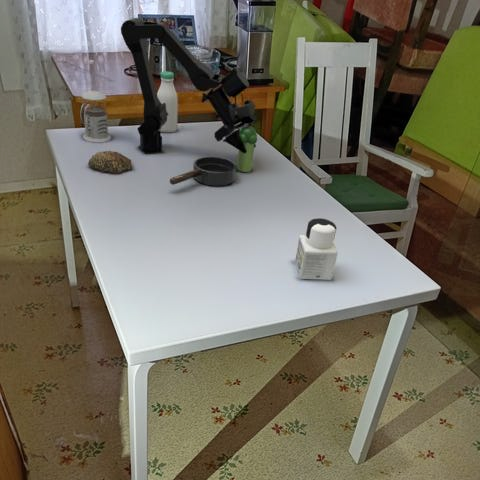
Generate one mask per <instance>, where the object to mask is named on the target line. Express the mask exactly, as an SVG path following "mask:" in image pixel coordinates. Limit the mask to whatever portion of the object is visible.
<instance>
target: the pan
mask: <svg viewBox="0 0 480 480" xmlns="http://www.w3.org/2000/svg"><path fill="white" fill-rule="evenodd" d="M196 169H201V170H202V175H200V176H197V177H194V178H193V179H194V180H196V181H197V182H198V183H201V184H203V185H206V186H213V187H221V186H222V187H224V186H228V185H229V184H233V183H234V182H235V181H236V175H237V163H235V162H234V161H233V160H231V159H228V158H226V157H220V156H202V157H199V158H196V159H195V160H194V162H193V170H196ZM193 170H192V171H193Z"/></svg>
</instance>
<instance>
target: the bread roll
mask: <svg viewBox="0 0 480 480" xmlns="http://www.w3.org/2000/svg"><path fill="white" fill-rule="evenodd" d="M87 165H88V167H89V168H91V169H92V170H94V171H97V172H101V173H107V174H114V175H116V174H120V173H123V172H124V171H126V170H127V171H131V170H133V165H132V159H131V158H128V157H127V156H125V155H124V154H122V153H120V152H118V151H113V150H105V151H104V150H103V151H98V152H96V153H95V154H93V155H92V156H91V157H90V159H89V160H88V163H87Z"/></svg>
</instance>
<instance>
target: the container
mask: <svg viewBox="0 0 480 480" xmlns="http://www.w3.org/2000/svg"><path fill="white" fill-rule="evenodd" d="M336 233H337V226H336V224H335V223H334V222H333V221H332V220H329V219H327V218H323V217H322V218H319V217H318V218H313V219H310V220H309V221H308V222H307V226H306V233H305V234H300V235H299V238H298V243H297V248H296V254H295V258H294V259H295V260H294V263H295V266H296V269H297V273H298V276H299V279H300V280H323V281H325V280H327V281H331V280H332V279H333V275H334V272H335V271H334V270H335V267H336V262H337V259H338V258H337V257H338V255H339V254H338V253H339V252H338V249H337V248H336V245H335V243H334V242H335V238H336Z"/></svg>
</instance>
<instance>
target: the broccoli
mask: <svg viewBox="0 0 480 480" xmlns="http://www.w3.org/2000/svg"><path fill="white" fill-rule="evenodd" d="M239 136H240V138H241V140H242V142H243V144H244V146H245V148H246V150H247V152H246V153H243V152H241V151H240V150H238V156H237V163H236V170H237V171H239V172H243V173H249V172H251V171H252V170H253V169H252V168H253V161H254V152H255V148H254V145H255V144H256V143H257V141H258V134H257V131H256V129H255V128H254V127H253V126H252V127H251V126H245V127H243V128H242V129H241V131H240V132H239Z"/></svg>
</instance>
